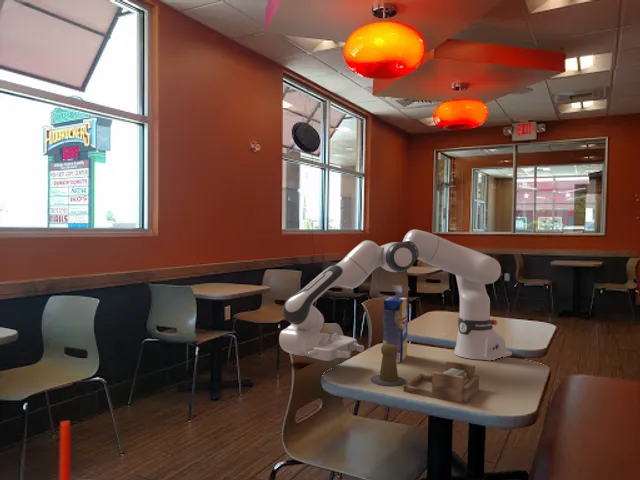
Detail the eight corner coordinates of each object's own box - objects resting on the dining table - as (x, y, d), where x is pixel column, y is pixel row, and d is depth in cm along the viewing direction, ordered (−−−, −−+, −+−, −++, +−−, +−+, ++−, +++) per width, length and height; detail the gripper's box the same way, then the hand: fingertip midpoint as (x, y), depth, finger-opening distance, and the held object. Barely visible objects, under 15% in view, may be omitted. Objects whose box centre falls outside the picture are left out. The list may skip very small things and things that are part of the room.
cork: (396, 376, 158) (396, 342, 157) (400, 381, 152) (400, 346, 151) (377, 376, 157) (378, 342, 157) (380, 381, 151) (381, 346, 151)
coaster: (391, 373, 161) (391, 372, 161) (412, 383, 151) (412, 382, 151) (363, 378, 156) (363, 377, 156) (384, 388, 146) (384, 387, 146)
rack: (403, 391, 144) (403, 367, 143) (420, 378, 156) (421, 356, 156) (465, 403, 134) (466, 378, 134) (478, 389, 147) (479, 366, 147)
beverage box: (407, 355, 185) (408, 297, 185) (401, 362, 175) (402, 301, 174) (389, 353, 188) (390, 296, 187) (382, 360, 177) (383, 300, 177)
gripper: (304, 342, 157) (341, 348, 150) (335, 331, 175) (370, 336, 168) (304, 361, 157) (341, 368, 150) (335, 349, 175) (369, 354, 168)
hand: (356, 351), depth 159 cm, fingers open, 8 cm apart
